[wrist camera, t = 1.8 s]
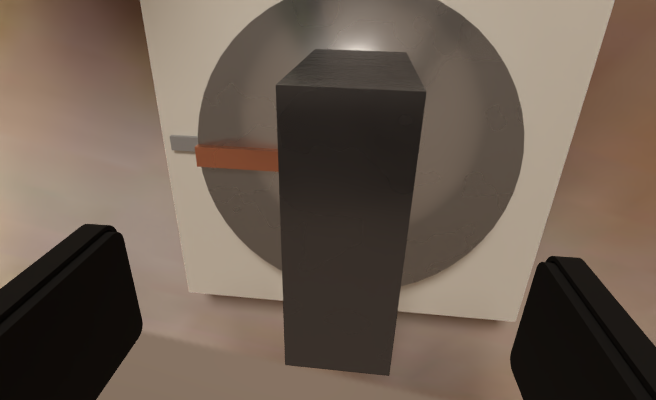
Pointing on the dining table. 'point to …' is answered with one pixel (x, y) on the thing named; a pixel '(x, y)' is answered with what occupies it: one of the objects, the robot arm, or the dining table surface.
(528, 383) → the robot arm
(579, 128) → the dining table surface
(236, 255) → the dial base
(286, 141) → the dial
